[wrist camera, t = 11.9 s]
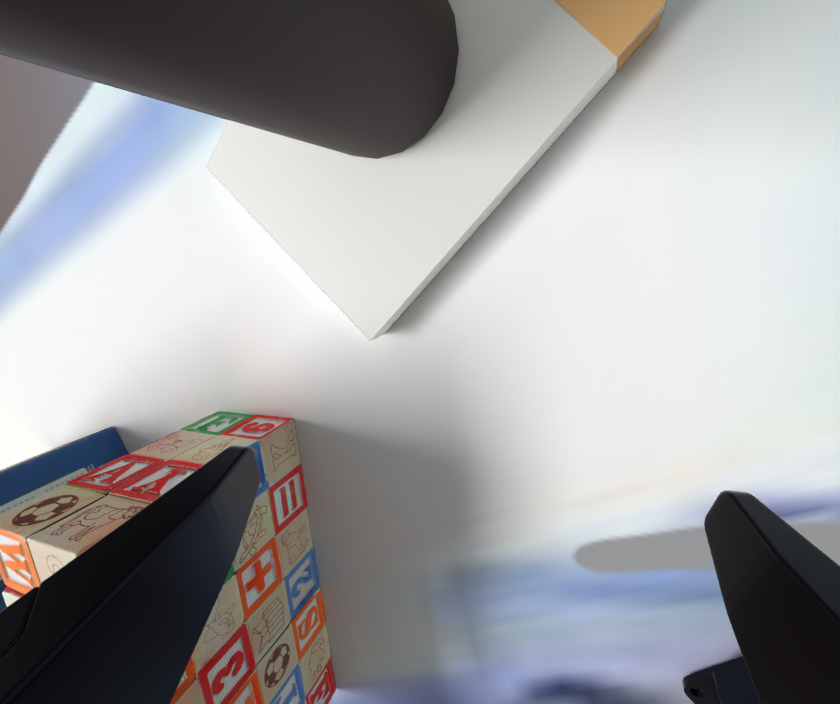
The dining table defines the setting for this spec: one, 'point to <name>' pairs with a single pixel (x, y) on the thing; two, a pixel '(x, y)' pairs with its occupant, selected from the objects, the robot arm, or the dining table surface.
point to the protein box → (55, 471)
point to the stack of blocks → (248, 577)
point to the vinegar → (259, 60)
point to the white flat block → (433, 153)
